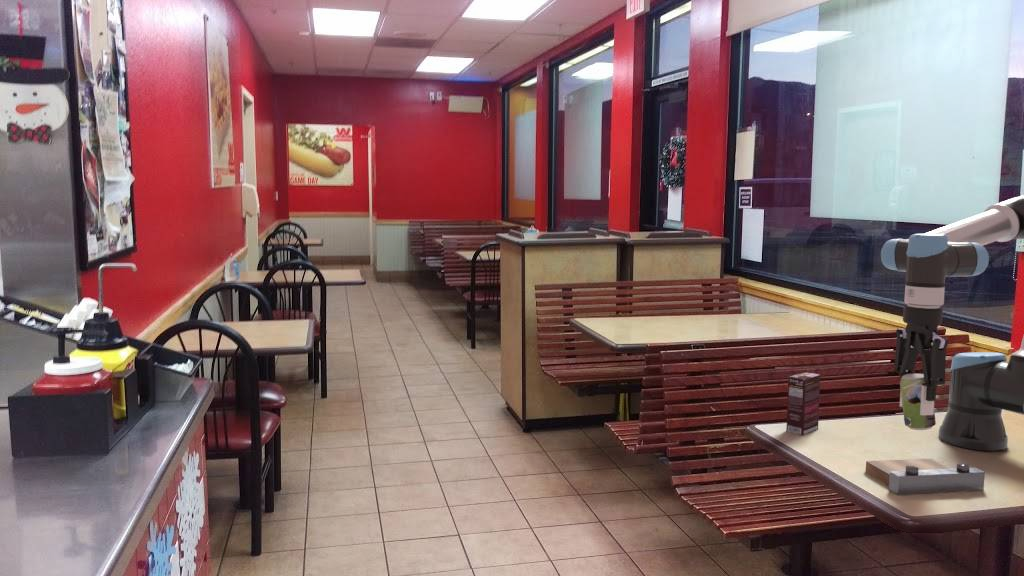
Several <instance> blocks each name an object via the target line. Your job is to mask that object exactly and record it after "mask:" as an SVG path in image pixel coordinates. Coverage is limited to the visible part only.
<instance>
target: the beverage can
mask: <svg viewBox="0 0 1024 576" xmlns="http://www.w3.org/2000/svg"><path fill="white" fill-rule="evenodd" d="M922 383H925V381H924V374H923V373H918V372H917V373H913V374H906V375H903V376H902V380H901V381H899V388H900V387H901V390H900V392H901V396H902V405H903V407H902V410H903V411H902V412H903V421H904V425H905V426H906V427H908V428H909V429H910V430H915V431H926V430H930V429H933V427H935V425H936V424H937V423H936V416H935V415H936V414H935V413H936V412H935V411H934V414H933V415H920V406H921V387H922Z"/></svg>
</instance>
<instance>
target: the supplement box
mask: <svg viewBox="0 0 1024 576" xmlns="http://www.w3.org/2000/svg"><path fill="white" fill-rule="evenodd" d="M787 382H788V383H787V384H788V385H787V404H786V405H787V407H786V410H787V411H786V427H785V428H786V429H785V430H786V432H788V433H791V434H792V433H793V434H796V435H800V436H805V435H808V434H810V433H812V432H816V431H818V430H819V421H820V420H819V418H820V417H819V416H820V414H819V412H820V391H821V390H820V389H821V388H820V387H821V385H820V384H821V374H820V373H813V372H806V371H804V372H801V373H797V374H793V375H789V376H788V381H787Z"/></svg>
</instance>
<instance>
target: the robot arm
mask: <svg viewBox="0 0 1024 576" xmlns="http://www.w3.org/2000/svg"><path fill="white" fill-rule="evenodd" d="M1011 240H1024V194H1023V195H1020V196H1015V197H1012V198H1008V199H1007V200H1004V201H1000V202H998V203H996V204H992V205H990V206H988V207H987V208H986V209H985V210H984V211H983V212H982V213H979V214H975V215H973V216H970V217H967V218H965V219H961V220H959V221H956V222H953V223H951V224H947V225H945V226H942V227H939V228H936V229H933V230H931V231H927V232H925V233H914V234H911V235H910V236H909V238H905V239H904V238H892V239H889V240H887V241H886V242H885V243H884V244H883V246H882V248H881V251H880V258H881V259H880V260H881V263H882V265H883V266H884V267H885V268H887V269H889V270H893V271H896V272H901V273H902V272H903V273H905V281H904V282H905V284H904V286H905V288H904V302H903V303H905V304H906V305H904V306H903V310H902V311H903V313H902V322H903V323H905V324H906V325H905V328H897V329H896V330H895V332H896V334H895V335H896V345H895V346H896V347H895V356H894V364H893V365H894V366H893V371H894V372H895V373H898V376H899V377H900V381H901V380H902V376H903V375H906V374H914V370H915V366H916V365H917V364H916V363H917V361H918V357H919V355H920V357H921V359H920V360H921V366H922V374H924V381H925V383H922V387H921V406H920V415H933V414H934V412H935V401H936V399H937V388H938V386H941V385H945V384H946V365H947V364H946V362H947V357H946V356H947V347H948V344H949V340H948V338H942V337H941V336H939V331H938V327H939V326H941V325H942V324H943V315H944V313H943V312H944V309H943V308H942V306H943V305H944V304H945V291H946V290H945V289H946V287H945V286H946V285H945V284H946V278H958V277H959V278H960V277H965V278H970V277H974V276H979V275H981V274H983V273H984V272H985V271H986V269H987V268H988V266H989V262H990V256H989V252H988V251H987V249H986V247H985V245H988V244H992V243H994V242H999V243H1003V242H1004V243H1005V242H1010V241H1011ZM949 371H950V374H949V375H950V376H949V377H950V378H949V393H948V395H949V396H948V408H947V411H946V413H945V415H944V418H943V421H942V422H941V425H940V426H939V428H938V439H939V440H941V441H942V442H944V443H947V444H949V445H951V446H954V447H959V448H963V449H968V450H974V451H975V450H976V451H988V452H989V451H990V452H996V451H1003V450H1005V449H1007V448H1008V444H1009V443H1008V441H1009V440H1008V439H1009V438H1008V435H1007V432H1006V428H1005V423H1004V420H1003V418H1002V417H1003V416H1002V412H1003V410H1004V411H1008V412H1012V413H1015V414H1019V415H1022V416H1024V335H1023V337H1022V340H1021V345H1020V348H1019V349H1018V350H1016V351H1015V352H1012V353H1011V354H1010V357H1009V361H1008V359H1007V356H1006V354H1005V353H1002V352H993V351H992V352H990V351H989V352H988V351H987V352H986V351H985V352H984V351H977V352H975V351H974V352H973V351H972V352H961V353H956V354H955V355H954V356H953V357H952V359H951V366H950V369H949ZM900 381H899V382H900ZM899 390H900V394H899V396H900V397H899V407H900V408H903V405H902V396H901V387H900V386H899Z"/></svg>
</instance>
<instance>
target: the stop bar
mask: <svg viewBox="0 0 1024 576" xmlns="http://www.w3.org/2000/svg"><path fill="white" fill-rule="evenodd" d="M985 474H986V472H985V471H984V470H981V469H979V468H977V467H975V466H970V465H969V464H967V463H963V462H959V463H958V462H957V463H956V467H954V468H953V467H952V468H951V467H949V469H930V470H919V468H917V467H915V466H906V471H893V472H890V479H889V486H888V491H890V492H891V493H893V494H895V495H897V496H905V495H906V496H908V495H909V496H910V495H923V494H939V493H940V494H941V493H943V494H944V493H956V492H959V493H960V492H973V491H984V489H985V488H984V487H985V476H986V475H985Z"/></svg>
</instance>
